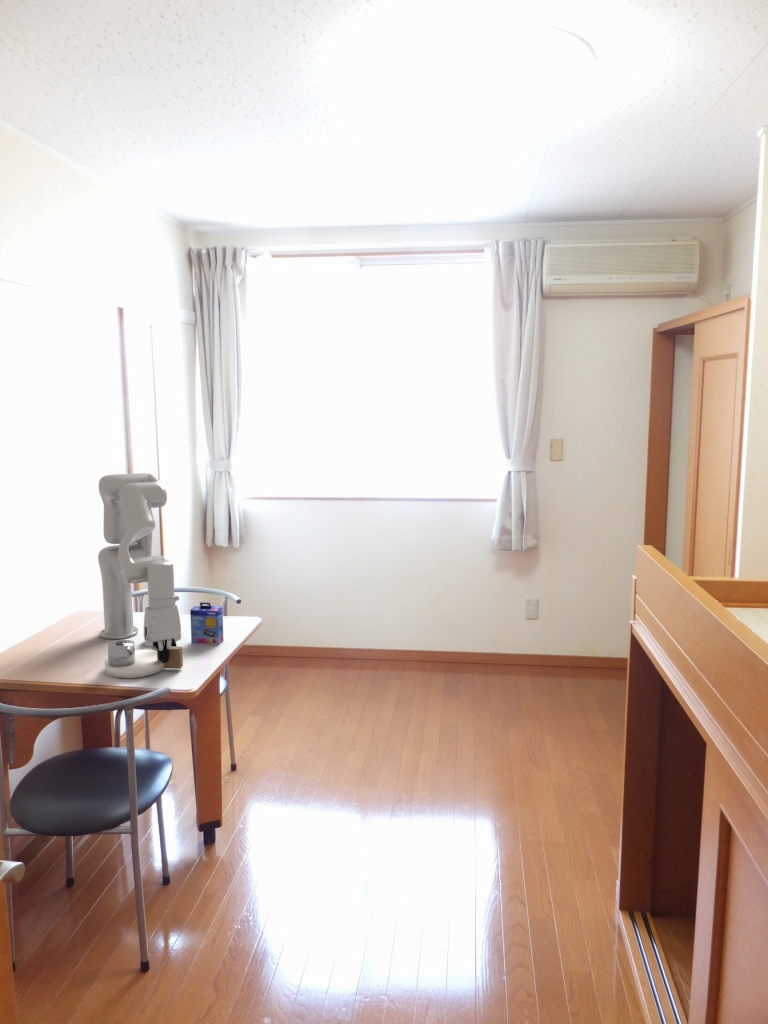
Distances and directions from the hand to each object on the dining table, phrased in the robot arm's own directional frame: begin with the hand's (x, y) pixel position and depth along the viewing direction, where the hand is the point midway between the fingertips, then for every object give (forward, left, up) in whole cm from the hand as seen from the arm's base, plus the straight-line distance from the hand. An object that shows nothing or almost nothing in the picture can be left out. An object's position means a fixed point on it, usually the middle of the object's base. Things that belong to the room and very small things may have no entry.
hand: (164, 661), depth 222 cm
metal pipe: (-26, +8, -4) cm, 28 cm away
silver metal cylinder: (-8, -10, -1) cm, 13 cm away
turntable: (-7, -3, -3) cm, 9 cm away
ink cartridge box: (-20, +23, -4) cm, 30 cm away
